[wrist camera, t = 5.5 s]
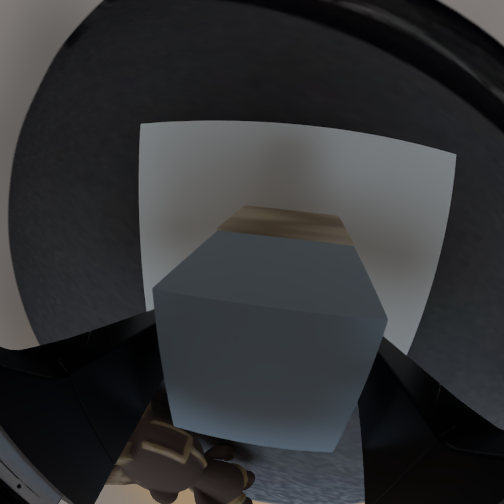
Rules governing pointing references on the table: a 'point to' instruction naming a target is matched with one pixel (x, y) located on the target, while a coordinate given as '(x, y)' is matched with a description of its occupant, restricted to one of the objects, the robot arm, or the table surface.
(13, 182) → the table surface
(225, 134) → the board
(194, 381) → the blue block
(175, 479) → the toy
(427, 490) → the robot arm
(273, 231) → the maple block
